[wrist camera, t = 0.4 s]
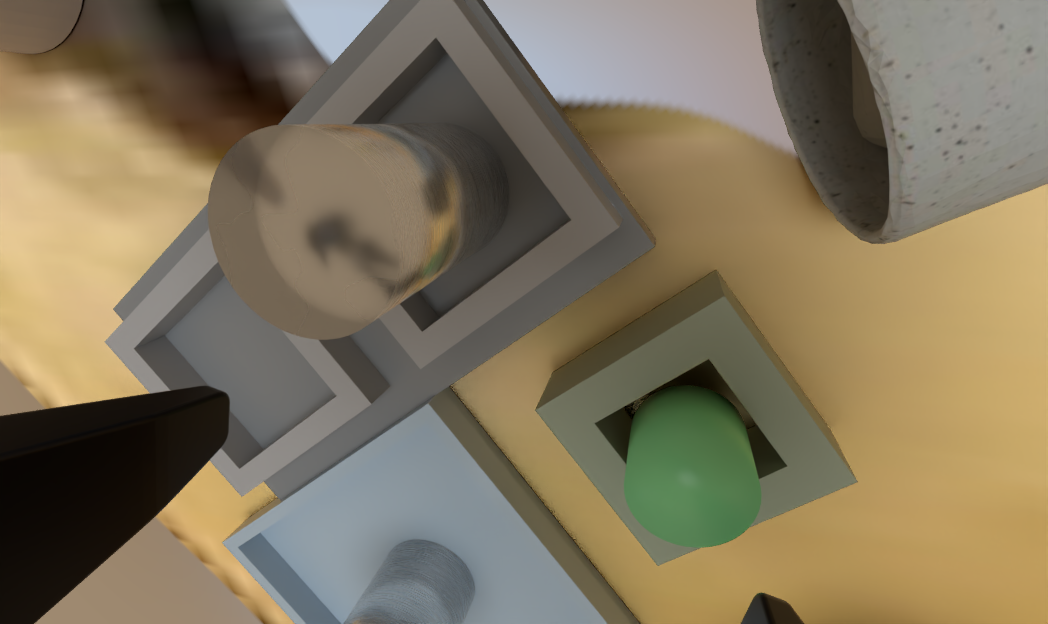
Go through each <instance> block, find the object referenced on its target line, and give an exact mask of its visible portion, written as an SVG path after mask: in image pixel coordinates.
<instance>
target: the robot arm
mask: <svg viewBox="0 0 1048 624" xmlns="http://www.w3.org/2000/svg"><path fill="white" fill-rule="evenodd" d="M229 416H230V398H229V396H228V394H227V393H226V392H224V391H221V390H219V389H216V388H213V387H211V386H205V385H204V386H196V387H190V388H183V389H176V390H170V391H163V392H156V393H150V394H143V395H136V396H130V397H123V398H116V399H110V400H103V401H96V402H90V403H83V404H76V405H70V406H63V407H56V408H50V409H43V410H36V411H30V412H23V413H17V414H10V415H4V416H0V624H34V623H35V622H37V621H38V620H39V619H40V618H41V617H42V616H43V615H45V614H46V613H47V612H48V611H49V610H50V609H51V608H52V607H54V606H55V605H56V604H57V603H58V602H59V601H60V600H62V598H63V597H65V596H66V595H67V594H68V593H69V592H71V591H72V590H73V589H74V588H75V587H76V586H77V585H78V584H80V583H81V582H82V581H83V580H84V579H85V578H87V577H88V576H89V575H90V574H91V573H92V572H93V571H94V570H95V569H97V568H98V567H99V566H100V565H101V564H102V563H104V562H105V561H106V560H107V559H108V558H109V557H110V556H111V555H113V554H114V553H115V552H116V551H117V550H118V549H119V548H121V547H122V546H123V545H124V544H125V543H126V542H127V541H128V540H130V539H131V538H132V537H133V536H134V535H135V534H136V533H138V532H139V531H140V530H141V529H142V528H143V527H144V526H145V525H146V524H148V523H149V522H150V521H151V520H152V519H153V518H154V517H155V516H156V515H157V514H158V513H159V512H160V511H161V510H162V509H163V508H164V507H165V506H166V505H167V504H168V503H169V502H170V501H171V500H172V499H173V498H174V497H175V496H176V495H177V494H178V493H179V492H180V491H181V490H182V489H183V488H184V487H185V485H186V484H187V483H188V482H189V481H190V480H191V479H192V478H193V477H194V476H195V475H196V474H197V473H198V472H199V471H200V470H201V469H202V468H203V467H204V465H205V464H206V463H207V462H208V461H209V460H210V459H211V458H212V457H213V456H214V455H215V454H216V453H217V452H218V451H219V450H220V449H221V447H222V446H223V445H224V443H225V442H226V440H227V437H228V434H229ZM741 624H804V623H803V621H802V620H801V619H800V617H799V616H798V615H797V613H796V612H795V611H794V609H793V608H792V607H791V606H790V604H789V603H787V602H786V601H784V600H781V599H779V598H776V597H773V596H771V595H768V594H765V593H758V594H757V595H756V596H755V597H754V598H753V600H752V602H751V604H750V606H749V608H748V610H747V612H746V614H745V616H744V618H743V620H742V622H741Z"/></svg>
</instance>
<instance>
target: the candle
mask: <svg viewBox="0 0 1048 624" xmlns="http://www.w3.org/2000/svg"><path fill="white" fill-rule="evenodd" d="M82 1H83V0H0V51H5V52H15V53H25V54H37V53H43V52H46V51H48V50H51V49H53V48H55V47H56V46H57V45H59V44H60V43H61V42H63V41H64V39H65V38H66V37H67V36H68V35H69V34H70V32H71V30H72V29H73V27H74V25H75V23H76V21H77V18H78V16H79V13H80V10H81V6H82Z"/></svg>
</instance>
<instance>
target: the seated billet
mask: <svg viewBox="0 0 1048 624" xmlns="http://www.w3.org/2000/svg"><path fill="white" fill-rule="evenodd" d="M508 206H509V183H508V179H507V175H506V172H505V169H504V166H503V164H502V162H501V160H500V158H499V156H498V155H497V153H496V152H495V150H494V149H493V148H492V147H491V146H490V144H489V143H488V142H487V141H485V140H484V139H483V138H482V137H481V136H479V135H478V134H476V133H475V132H473V131H471V130H469V129H467V128H465V127H462V126H459V125H455V124H448V123H408V124H305V125H276V126H269V127H266V128H262V129H259V130H256V131H254V132H252V133H250V134H248V135H246V136H245V137H244V138H242V139H241V140H239V141H238V142H237V143H236V144H235V145H234V146H233V147H232V148H231V149H230V150H229V151H228V152H227V153H226V155H225V156H224V157H223V159H222V160H221V162H220V164H219V166H218V168H217V170H216V172H215V175H214V178H213V180H212V183H211V188H210V193H209V200H208V224H209V231H210V237H211V241H212V245H213V249H214V252H215V254H216V257H217V260H218V262H219V264H220V266H221V268H222V271H223V273H224V275H225V276H226V278H227V279H228V281H229V283H230V284H231V286H232V287H233V289H234V290H235V291H236V293H237V294H238V295H239V297H240V298H241V299H242V300H243V301H244V302H245V303H246V304H247V305H248V306H249V307H250V308H251V309H252V310H253V311H254V312H255V313H256V314H258V315H259V316H260V317H261V318H263V319H264V320H266V321H267V322H268V323H270V324H272V325H273V326H275V327H277V328H279V329H281V330H283V331H285V332H288V333H290V334H292V335H296V336H299V337H303V338H309V339H316V340H329V339H337V338H341V337H345V336H348V335H351V334H353V333H355V332H358V331H360V330H361V329H363V328H364V327H366V326H367V325H369V324H370V323H372V322H373V321H375V320H376V319H378V318H379V317H381V316H382V315H384V314H385V313H386V312H388V311H389V310H391V309H392V308H394V307H395V306H397V305H398V304H400V303H401V302H403V301H404V300H406V299H407V298H409V297H410V296H412V295H413V294H415V293H416V292H418V291H419V290H421V289H422V288H423V287H425V286H426V285H428V284H429V283H431V282H432V281H434V280H435V279H437V278H438V277H440V276H441V275H443V274H444V273H446V272H447V271H449V270H450V269H452V268H453V267H455V266H456V265H458V264H459V263H460V262H462V261H463V260H465V259H466V258H468V257H469V256H471V255H472V254H474V253H475V252H477V251H478V250H480V249H481V248H483V247H484V246H486V245H487V244H488V243H489V242H490V241H491V240H492V239H493V238H494V237H495V236H496V235H497V233H498V232H499V230H500V229H501V227H502V225H503V223H504V220H505V218H506V215H507V211H508Z"/></svg>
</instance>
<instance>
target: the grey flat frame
mask: <svg viewBox="0 0 1048 624" xmlns="http://www.w3.org/2000/svg"><path fill="white" fill-rule="evenodd" d="M408 123H448V124H455V125H459V126H462V127H465V128H467V129H469V130H471V131H473V132H475V133H476V134H478V135H479V136H481V137H482V138H483V139H484V140H485V141H487V142H488V143H489V144H490V146H491V147H492V148H493V149H494V150H495V152H496V153H497V155H498V156H499V158H500V160H501V162H502V164H503V166H504V169H505V172H506V175H507V179H508V183H509V206H508V211H507V215H506V218H505V220H504V223H503V225H502V227H501V229H500V230H499V232H498V233H497V235H496V236H495V237H494V238H493V239H492V240H491V241H490V242H489V243H488V244H487V245H486V246H484V247H483V248H481V249H480V250H478V251H477V252H475V253H474V254H472V255H471V256H469V257H468V258H466V259H465V260H463V261H462V262H460V263H459V264H458V265H456V266H455V267H453V268H452V269H450V270H449V271H447V272H446V273H444V274H443V275H441V276H440V277H438V278H437V279H435V280H434V281H432V282H431V283H429V284H428V285H426V286H425V287H423V288H422V289H421V290H419V291H418V292H416V293H415V294H413V295H412V296H410V297H409V298H407V299H406V300H404V301H403V302H401V303H400V304H398V305H397V306H395V307H394V308H392V309H391V310H389V311H388V312H386V313H385V314H384V315H382V316H381V317H379V318H378V319H376V320H375V321H373V322H372V323H370V324H369V325H367V326H366V327H364V328H363V329H361V330H360V331H358V332H355V333H353V334H351V335H348V336H345V337H341V338H337V339H329V340H316V339H309V338H303V337H299V336H296V335H292V334H290V333H288V332H285V331H283V330H281V329H279V328H277V327H275V326H273V325H272V324H270V323H268V322H267V321H266V320H264V319H263V318H261V317H260V316H259V315H258V314H256V313H255V312H254V311H253V310H252V309H251V308H250V307H249V306H248V305H247V304H246V303H245V302H244V301H243V300H242V299H241V298H240V297H239V295H238V294H237V293H236V291H235V290H234V289H233V287H232V286H231V284H230V283H229V281H228V279H227V278H226V276H225V275H224V273H223V271H222V268H221V266H220V264H219V262H218V260H217V257H216V254H215V252H214V249H213V245H212V241H211V237H210V231H209V224H208V204H207V205H206V206H205V207H204V208H203V209H202V210H201V211H200V213H199V214H198V215H197V216H196V217H195V218H194V219H193V220H192V221H191V223H190V224H189V225H188V226H187V227H186V228H185V229H184V230H183V232H182V233H181V234H180V235H179V236H178V237H177V238H176V239H175V240H174V242H173V243H172V244H171V245H170V246H169V247H168V248H167V249H166V251H165V252H164V253H163V254H162V255H161V256H160V257H159V258H158V259H157V261H156V262H155V263H154V264H153V265H152V266H151V267H150V268H149V269H148V271H147V272H146V273H145V274H144V275H143V276H142V277H141V278H140V280H139V281H138V282H137V283H136V284H135V285H134V286H133V287H132V288H131V290H130V291H129V292H128V293H127V294H126V295H125V296H124V297H123V299H122V300H121V301H120V302H119V303H118V304H117V305H116V306H115V307H114V309H113V310H114V311H115V312H116V313H117V314H118V315H119V317H120V318H121V319H122V320H123V323H122V324H121V325H120V326H119V327H118V328H117V329H116V330H115V331H114V332H113V333H112V334H111V336H110V337H109V338H108V339H107V340H106V341H105V343H106V344H107V345H108V346H109V347H110V348H111V350H112V351H113V352H114V353H115V354H116V355H117V356H118V357H119V359H120V360H121V361H122V362H123V363H124V364H125V365H126V367H127V368H128V369H129V370H130V371H131V372H132V373H133V374H134V376H135V377H136V378H137V379H138V380H139V381H140V382H141V383H142V385H143V386H144V387H145V388H146V389H147V390H148V391H149V393H156V392H163V391H170V390H176V389H183V388H190V387H196V386H204V385H205V386H211V387H213V388H216V389H219V390H221V391H224V392H226V393H227V394H228V396H229V398H230V416H229V434H228V437H227V440H226V442H225V443H224V445H223V446H222V447H221V449H220V450H219V451H218V452H217V453H216V454H215V455H214V456H213V457H212V458H211V459H210V461H211V463H212V464H213V465H214V466H215V467H216V468H217V469H218V471H219V472H220V473H221V474H222V475H223V476H224V477H225V478H226V480H227V481H228V482H229V483H230V484H231V485H232V486H233V487H234V489H235V490H236V491H237V492H238V493H239V494H240V495H241V497H242V496H244V495H245V494H247V493H248V492H249V491H251V490H252V489H254V488H255V487H256V486H258V485H259V484H261V483H262V482H263V481H264V482H265V483H266V484H267V486H268V487H269V488H270V489H271V490H272V491H273V492H274V494H275V495H276V496H277V497H278V498H279V499H280V500H282V499H284V498H285V497H286V496H288V495H289V494H291V493H292V492H294V491H295V490H297V489H298V488H300V487H301V486H303V485H304V484H306V483H307V482H309V481H310V480H312V479H313V478H314V477H316V476H317V475H319V474H320V473H322V472H323V471H325V470H326V469H328V468H329V467H331V466H332V465H334V464H335V463H337V462H338V461H340V460H341V459H342V458H344V457H345V456H347V455H348V454H350V453H351V452H353V451H354V450H356V449H357V448H359V447H360V446H362V445H363V444H365V443H366V442H368V441H369V440H370V439H372V438H373V437H375V436H376V435H378V434H379V433H381V432H382V431H384V430H385V429H387V428H388V427H390V426H391V425H393V424H394V423H396V422H397V421H398V420H400V419H401V418H403V417H404V416H406V415H407V414H409V413H410V412H412V411H413V410H415V409H416V408H418V407H419V406H421V405H422V404H424V403H425V402H426V401H428V400H429V399H431V398H432V397H434V396H435V395H437V394H438V393H440V392H441V391H443V390H444V389H446V388H447V387H449V386H450V385H452V384H453V383H455V382H456V381H457V380H459V379H460V378H462V377H463V376H465V375H466V374H468V373H469V372H471V371H472V370H474V369H475V368H477V367H478V366H480V365H481V364H483V363H484V362H485V361H487V360H488V359H490V358H491V357H493V356H494V355H496V354H497V353H499V352H500V351H502V350H503V349H505V348H506V347H508V346H509V345H511V344H512V343H513V342H515V341H516V340H518V339H519V338H521V337H522V336H524V335H525V334H527V333H528V332H530V331H531V330H533V329H534V328H536V327H537V326H539V325H540V324H541V323H543V322H544V321H546V320H547V319H549V318H550V317H552V316H553V315H555V314H556V313H558V312H559V311H561V310H562V309H564V308H565V307H567V306H568V305H569V304H571V303H572V302H574V301H575V300H577V299H578V298H580V297H581V296H583V295H584V294H586V293H587V292H589V291H590V290H592V289H593V288H595V287H596V286H597V285H599V284H600V283H602V282H603V281H605V280H606V279H608V278H609V277H611V276H612V275H614V274H615V273H617V272H618V271H620V270H621V269H623V268H624V267H626V266H627V265H628V264H630V263H631V262H633V261H634V260H636V259H637V258H639V257H640V256H642V255H643V254H645V253H646V252H648V251H649V250H651V249H652V248H654V247H655V242H656V239H655V237H654V236H653V234H652V233H651V232H650V230H649V229H648V228H647V226H646V225H645V223H644V222H643V221H642V219H641V218H640V216H639V215H638V214H637V212H636V211H635V210H634V208H633V207H632V205H631V204H630V203H629V201H628V200H627V199H626V197H625V196H624V194H623V193H622V192H621V190H620V189H619V187H618V186H617V185H616V183H615V182H614V181H613V179H612V178H611V176H610V175H609V174H608V172H607V171H606V169H605V168H604V167H603V165H602V164H601V163H600V161H599V160H598V158H597V157H596V156H595V154H594V153H593V152H592V150H591V149H590V147H589V146H588V145H587V143H586V142H585V140H584V139H583V138H582V136H581V135H580V134H579V132H578V131H577V129H576V128H575V127H574V125H573V124H572V123H571V121H570V120H569V118H568V117H567V116H566V114H565V113H564V111H563V110H562V109H561V107H560V106H559V105H558V103H557V102H556V100H555V99H554V98H553V96H552V95H551V94H550V92H549V91H548V89H547V88H546V87H545V85H544V84H543V83H542V81H541V80H540V78H539V77H538V76H537V74H536V73H535V71H534V70H533V69H532V67H531V66H530V65H529V63H528V62H527V60H526V59H525V58H524V57H523V55H522V53H521V52H520V51H519V49H518V48H517V47H516V45H515V44H514V42H513V41H512V40H511V39H510V37H509V36H508V34H507V33H506V31H505V30H504V29H503V27H502V26H501V24H500V23H499V22H498V20H497V19H496V17H495V16H494V15H493V14H492V12H491V11H490V9H489V8H488V6H487V5H486V4H485V2H484V1H483V0H389V2H388V3H387V4H386V5H385V6H384V7H383V8H382V9H381V11H380V12H379V13H378V14H377V15H376V16H375V17H374V18H373V19H372V21H371V22H370V23H369V24H368V25H367V26H366V27H365V28H364V29H363V31H362V32H361V33H360V34H359V35H358V36H357V37H356V38H355V40H354V41H353V42H352V43H351V44H350V45H349V46H348V47H347V49H346V50H345V51H344V52H343V53H342V54H341V55H340V56H339V57H338V58H337V60H336V61H335V62H334V63H333V64H332V65H331V66H330V67H329V69H328V70H327V71H326V72H325V73H324V74H323V75H322V76H321V77H320V79H319V80H318V81H317V82H316V83H315V84H314V85H313V86H312V88H311V89H310V90H309V91H308V92H307V93H306V94H305V95H304V96H303V98H302V99H301V100H300V101H299V102H298V103H297V104H296V105H295V107H294V108H293V109H292V110H291V111H290V112H289V113H288V114H287V115H286V117H285V118H284V119H283V120H282V121H281V122H280V123H279V124H278V125H305V124H408Z"/></svg>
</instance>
